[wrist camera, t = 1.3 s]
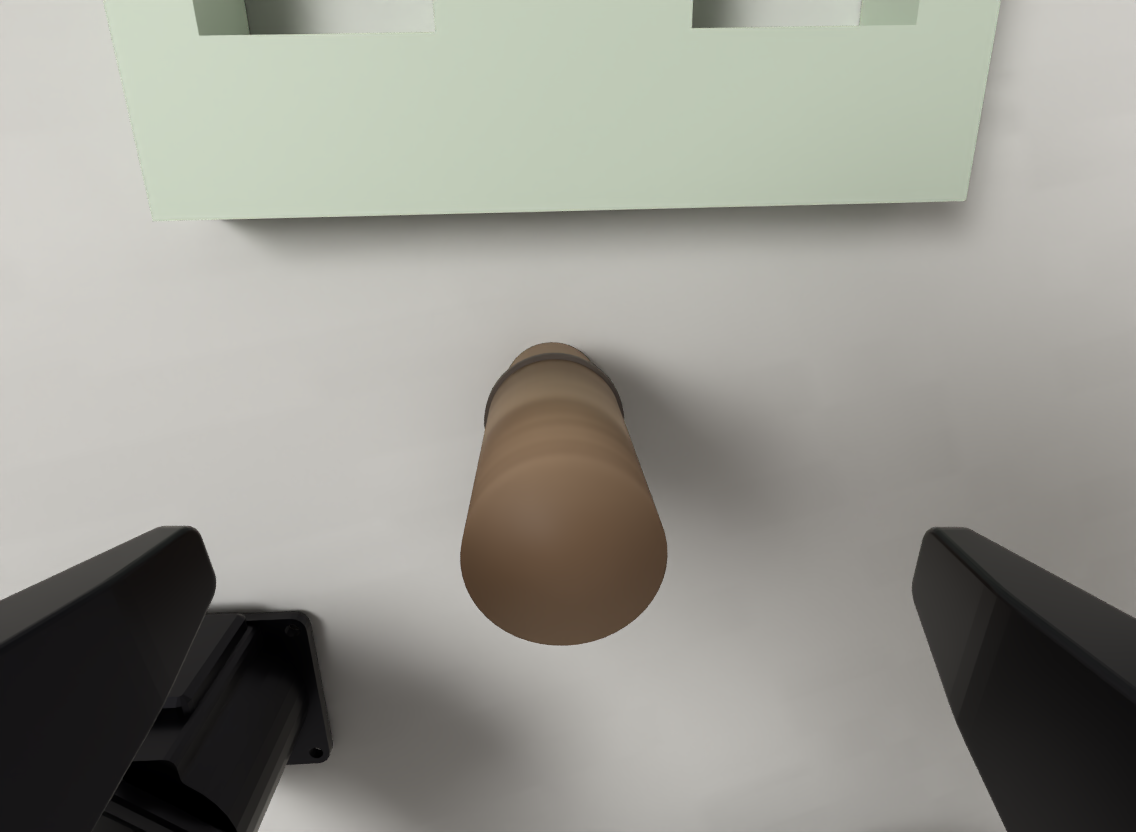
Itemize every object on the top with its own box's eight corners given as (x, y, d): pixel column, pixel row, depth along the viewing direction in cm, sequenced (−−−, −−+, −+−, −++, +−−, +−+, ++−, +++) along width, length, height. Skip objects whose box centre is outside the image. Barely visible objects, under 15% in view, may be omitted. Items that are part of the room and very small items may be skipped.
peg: (611, 442, 22) (669, 645, 12) (495, 446, 21) (463, 655, 12) (611, 327, 20) (676, 455, 11) (488, 331, 20) (445, 464, 11)
